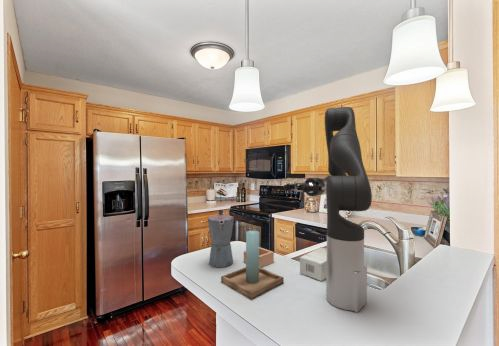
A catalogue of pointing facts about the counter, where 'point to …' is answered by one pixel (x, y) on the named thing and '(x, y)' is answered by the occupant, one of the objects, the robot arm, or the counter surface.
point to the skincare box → (314, 264)
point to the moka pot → (220, 239)
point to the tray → (252, 291)
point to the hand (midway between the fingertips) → (293, 188)
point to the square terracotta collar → (263, 257)
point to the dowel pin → (252, 257)
